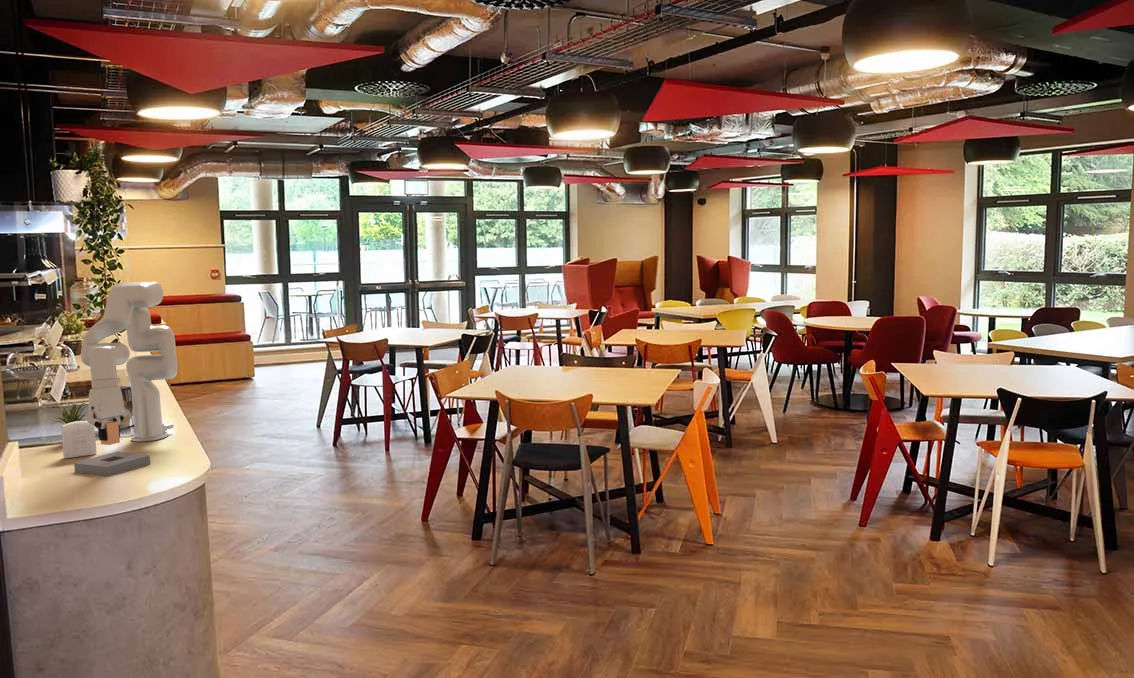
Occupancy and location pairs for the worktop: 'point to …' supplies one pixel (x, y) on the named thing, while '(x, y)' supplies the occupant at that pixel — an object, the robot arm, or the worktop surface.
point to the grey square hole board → (112, 463)
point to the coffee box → (126, 406)
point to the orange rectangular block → (111, 433)
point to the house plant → (71, 413)
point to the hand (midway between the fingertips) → (110, 438)
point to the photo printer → (78, 439)
